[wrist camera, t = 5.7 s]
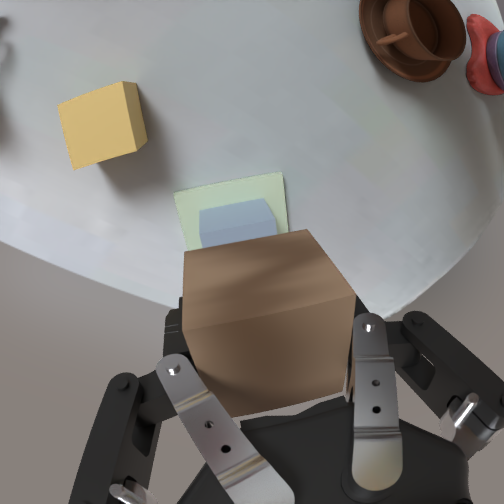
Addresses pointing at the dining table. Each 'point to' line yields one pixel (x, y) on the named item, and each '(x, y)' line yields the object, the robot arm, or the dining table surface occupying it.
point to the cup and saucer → (413, 35)
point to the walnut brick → (267, 321)
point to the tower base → (228, 196)
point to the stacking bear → (485, 56)
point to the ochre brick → (103, 124)
